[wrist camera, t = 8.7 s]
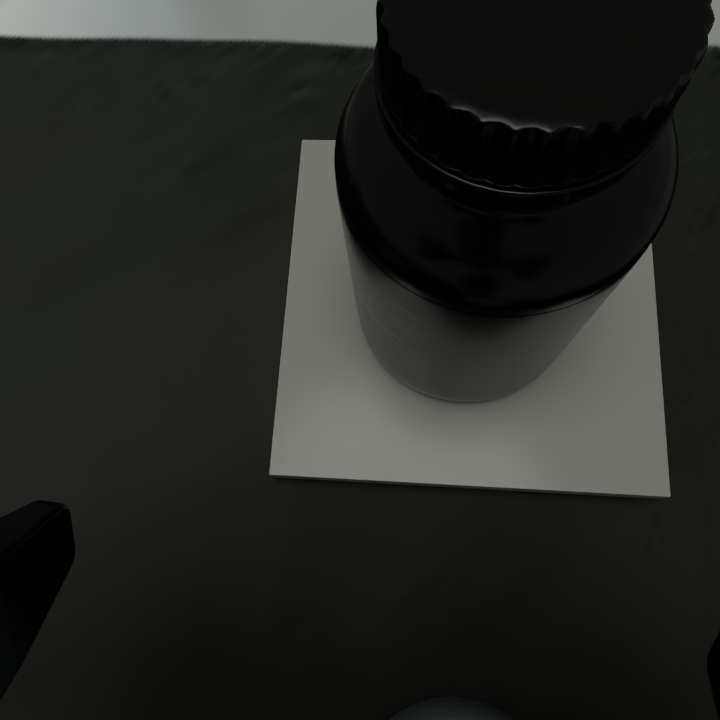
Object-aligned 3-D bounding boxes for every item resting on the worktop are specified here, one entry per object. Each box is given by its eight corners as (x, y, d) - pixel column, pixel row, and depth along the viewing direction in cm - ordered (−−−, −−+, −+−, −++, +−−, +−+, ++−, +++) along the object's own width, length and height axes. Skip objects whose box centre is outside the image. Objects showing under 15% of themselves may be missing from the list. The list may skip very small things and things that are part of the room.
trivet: (656, 499, 19) (670, 496, 18) (275, 477, 20) (269, 474, 19) (633, 160, 22) (644, 143, 21) (306, 156, 23) (302, 139, 22)
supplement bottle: (588, 393, 19) (869, 178, 8) (370, 417, 19) (321, 245, 8) (547, 198, 21) (722, -210, 10) (349, 223, 21) (285, -146, 10)
